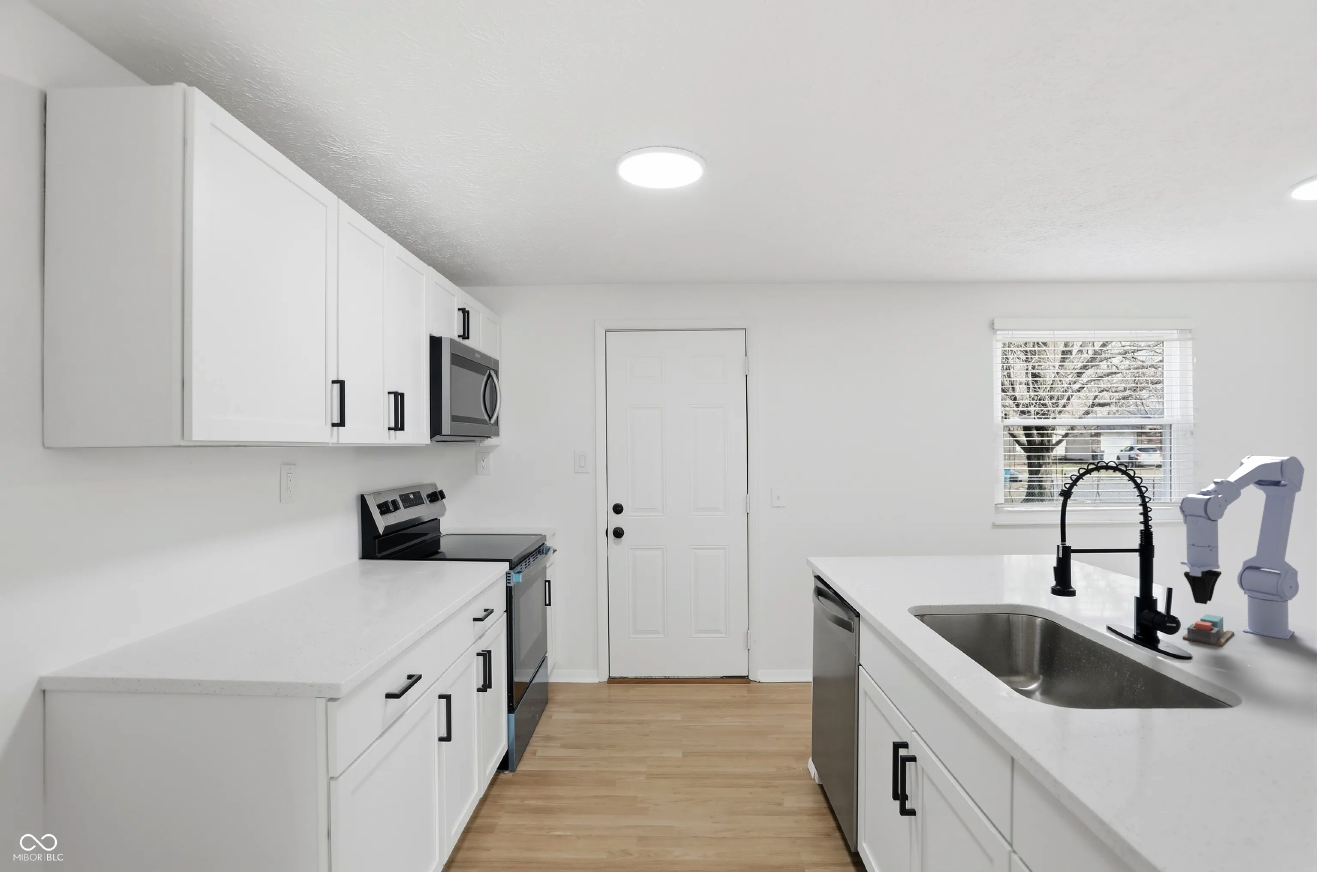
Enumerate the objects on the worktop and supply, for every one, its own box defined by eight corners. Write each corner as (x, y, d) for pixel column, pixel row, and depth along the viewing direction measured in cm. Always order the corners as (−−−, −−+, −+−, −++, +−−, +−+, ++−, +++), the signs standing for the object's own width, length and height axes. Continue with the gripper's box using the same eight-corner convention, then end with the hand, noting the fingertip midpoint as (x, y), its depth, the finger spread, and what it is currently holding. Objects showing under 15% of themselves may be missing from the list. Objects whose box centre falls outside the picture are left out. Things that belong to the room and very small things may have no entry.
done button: (1197, 630, 150) (1197, 620, 150) (1212, 633, 148) (1211, 623, 148) (1195, 632, 148) (1194, 622, 148) (1209, 635, 146) (1209, 625, 146)
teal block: (1206, 626, 157) (1206, 614, 157) (1223, 629, 154) (1223, 616, 154) (1199, 632, 152) (1198, 619, 152) (1216, 635, 150) (1216, 622, 150)
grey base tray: (1197, 627, 158) (1197, 615, 158) (1234, 633, 153) (1233, 621, 153) (1182, 639, 149) (1181, 626, 149) (1220, 646, 144) (1220, 633, 144)
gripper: (1188, 539, 156) (1189, 593, 156) (1172, 546, 147) (1173, 603, 147) (1225, 543, 150) (1226, 598, 150) (1211, 550, 141) (1212, 609, 141)
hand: (1203, 601), depth 148 cm, fingers open, 3 cm apart
